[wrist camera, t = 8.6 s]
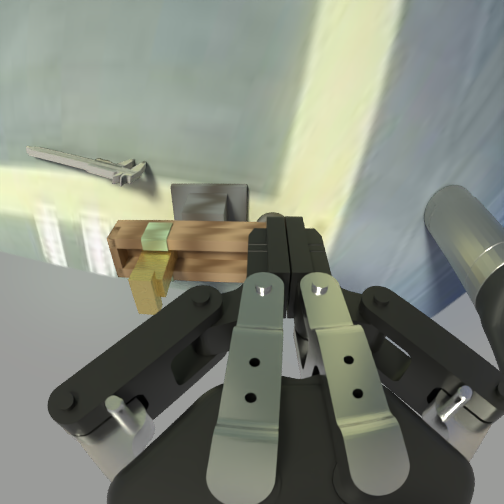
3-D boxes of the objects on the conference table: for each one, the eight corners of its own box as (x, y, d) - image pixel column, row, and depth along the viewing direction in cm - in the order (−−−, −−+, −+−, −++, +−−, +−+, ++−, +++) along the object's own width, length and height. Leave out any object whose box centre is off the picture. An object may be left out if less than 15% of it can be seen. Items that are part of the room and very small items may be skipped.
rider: (174, 231, 37) (156, 281, 30) (179, 264, 40) (164, 315, 33) (145, 230, 37) (122, 279, 30) (152, 263, 40) (133, 313, 33)
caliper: (147, 160, 40) (132, 180, 35) (147, 167, 40) (131, 188, 35) (27, 145, 37) (3, 162, 32) (28, 151, 38) (4, 169, 33)
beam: (292, 185, 42) (301, 229, 33) (286, 247, 48) (291, 296, 40) (130, 184, 42) (102, 225, 34) (142, 243, 48) (121, 289, 40)
